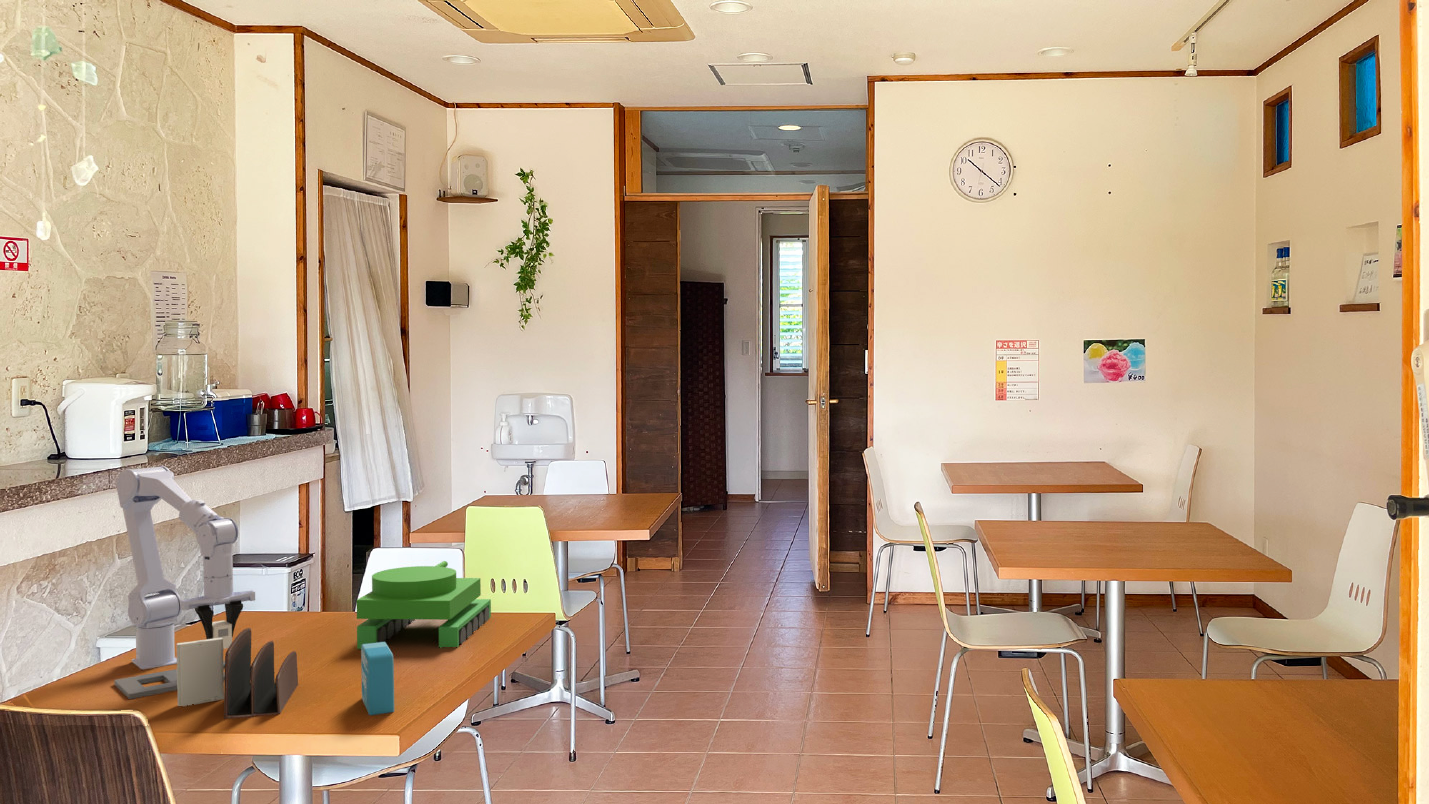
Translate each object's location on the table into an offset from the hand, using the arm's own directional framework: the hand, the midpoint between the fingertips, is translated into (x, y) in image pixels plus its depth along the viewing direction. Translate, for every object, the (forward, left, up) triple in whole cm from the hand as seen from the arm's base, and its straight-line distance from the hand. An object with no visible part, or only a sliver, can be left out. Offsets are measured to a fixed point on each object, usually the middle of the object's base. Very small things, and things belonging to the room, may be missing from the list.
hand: (219, 638), depth 229 cm
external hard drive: (+19, -9, -8) cm, 22 cm away
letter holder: (+27, 0, -8) cm, 28 cm away
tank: (-2, +50, -8) cm, 51 cm away
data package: (+46, +15, -8) cm, 49 cm away
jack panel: (0, -7, -8) cm, 10 cm away
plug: (0, 0, -2) cm, 2 cm away
